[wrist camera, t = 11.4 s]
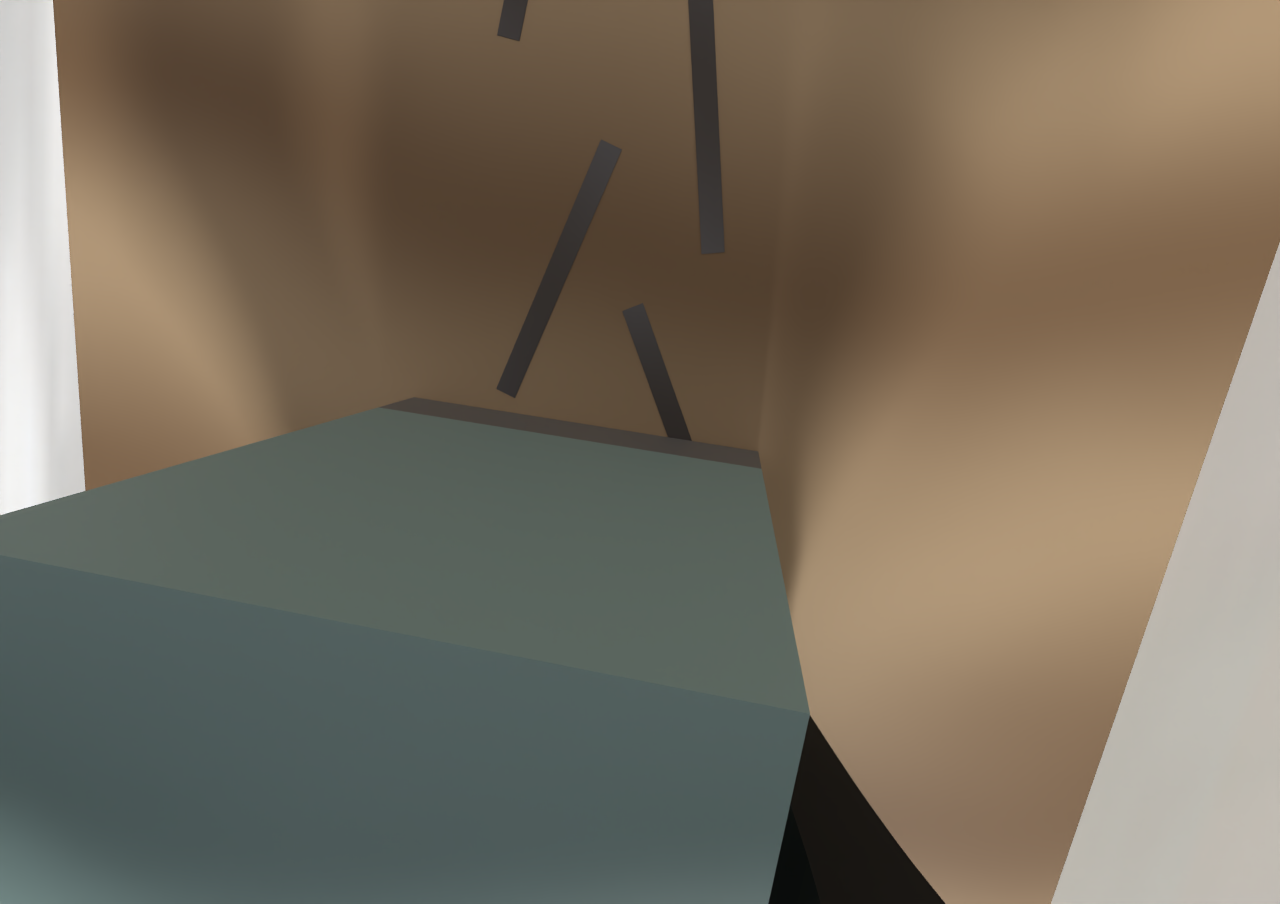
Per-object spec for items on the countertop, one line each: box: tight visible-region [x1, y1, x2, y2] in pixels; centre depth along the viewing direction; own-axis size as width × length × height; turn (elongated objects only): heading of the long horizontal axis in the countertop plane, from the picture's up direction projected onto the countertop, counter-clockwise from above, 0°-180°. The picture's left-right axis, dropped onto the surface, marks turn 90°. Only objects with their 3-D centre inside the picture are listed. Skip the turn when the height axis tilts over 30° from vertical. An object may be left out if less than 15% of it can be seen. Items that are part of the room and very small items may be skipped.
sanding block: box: [0, 397, 810, 904], centre depth 7 cm, size 7×5×6 cm
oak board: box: [53, 0, 1280, 904], centre depth 9 cm, size 24×16×2 cm, turn 172°
